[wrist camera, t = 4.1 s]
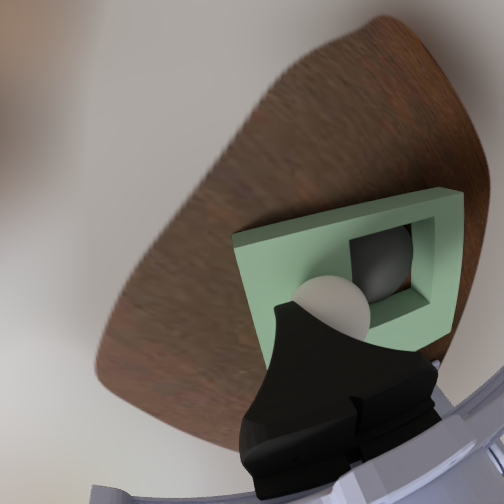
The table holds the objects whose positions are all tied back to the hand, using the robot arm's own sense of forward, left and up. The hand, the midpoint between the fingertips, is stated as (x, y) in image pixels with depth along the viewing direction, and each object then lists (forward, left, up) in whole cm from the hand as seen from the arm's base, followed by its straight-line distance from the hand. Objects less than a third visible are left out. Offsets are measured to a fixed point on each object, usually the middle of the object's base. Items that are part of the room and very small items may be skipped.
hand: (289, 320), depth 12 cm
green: (-2, -6, -4) cm, 7 cm away
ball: (0, -2, 0) cm, 2 cm away
